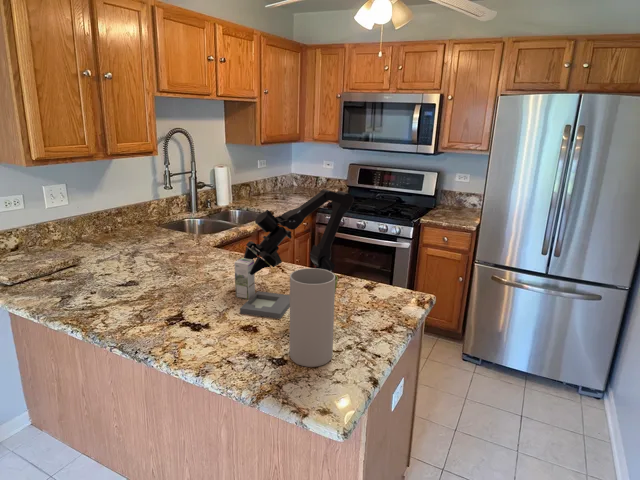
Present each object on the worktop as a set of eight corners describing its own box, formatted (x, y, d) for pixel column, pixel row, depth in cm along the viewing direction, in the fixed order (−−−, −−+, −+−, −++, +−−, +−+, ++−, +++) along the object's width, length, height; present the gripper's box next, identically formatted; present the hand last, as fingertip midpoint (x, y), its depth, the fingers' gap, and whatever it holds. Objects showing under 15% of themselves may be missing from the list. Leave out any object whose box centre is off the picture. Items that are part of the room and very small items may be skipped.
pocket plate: (294, 300, 161) (294, 295, 161) (280, 319, 146) (280, 313, 146) (257, 295, 165) (257, 290, 164) (240, 313, 150) (239, 308, 149)
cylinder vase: (282, 362, 121) (282, 280, 114) (299, 341, 132) (300, 265, 125) (323, 372, 117) (326, 287, 110) (338, 350, 128) (341, 271, 121)
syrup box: (255, 294, 166) (254, 258, 162) (248, 300, 161) (247, 263, 157) (242, 291, 168) (241, 257, 164) (235, 297, 163) (233, 261, 159)
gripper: (297, 258, 161) (269, 290, 158) (277, 245, 176) (252, 274, 174) (278, 241, 155) (249, 273, 152) (259, 229, 170) (232, 258, 168)
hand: (246, 270), depth 162 cm, fingers open, 9 cm apart
